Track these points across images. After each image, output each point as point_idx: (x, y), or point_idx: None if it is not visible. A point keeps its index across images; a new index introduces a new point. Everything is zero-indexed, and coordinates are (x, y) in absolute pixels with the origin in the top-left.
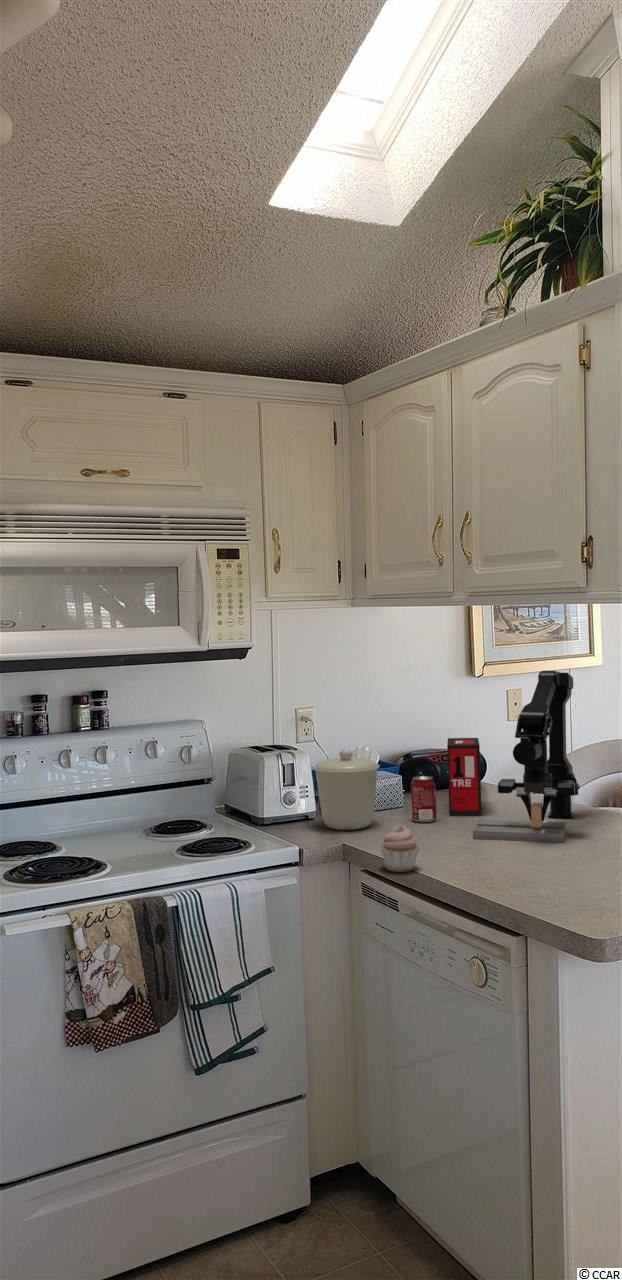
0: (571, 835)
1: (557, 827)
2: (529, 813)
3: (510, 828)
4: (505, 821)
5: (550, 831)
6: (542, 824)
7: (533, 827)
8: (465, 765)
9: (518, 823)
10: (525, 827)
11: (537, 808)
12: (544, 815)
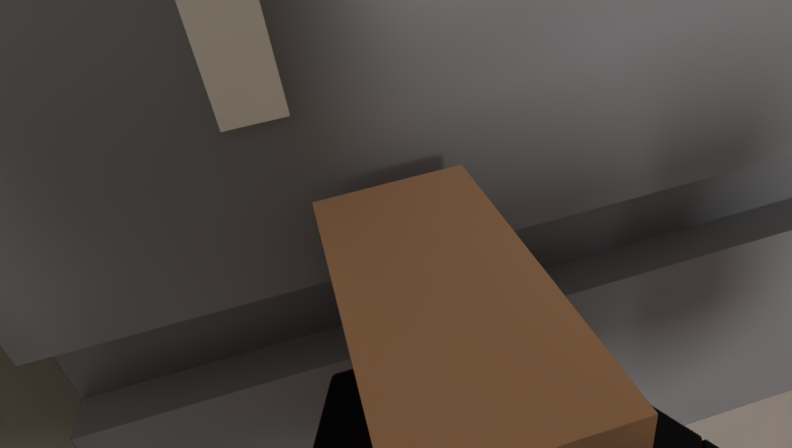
0: (15, 380)
1: (169, 406)
2: None
3: (728, 92)
4: (745, 367)
5: (124, 130)
6: None
7: None
8: None
9: (628, 356)
10: None
11: (472, 443)
12: (322, 444)
